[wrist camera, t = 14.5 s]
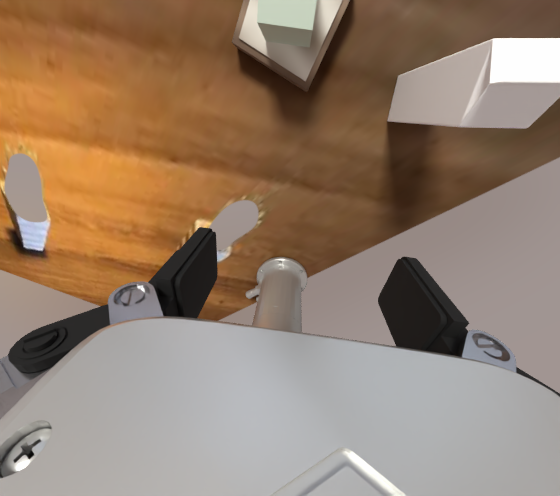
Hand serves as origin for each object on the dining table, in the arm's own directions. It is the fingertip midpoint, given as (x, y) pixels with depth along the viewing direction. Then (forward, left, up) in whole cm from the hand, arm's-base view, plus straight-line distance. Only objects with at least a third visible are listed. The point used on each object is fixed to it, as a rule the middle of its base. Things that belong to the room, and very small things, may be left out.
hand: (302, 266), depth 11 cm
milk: (+19, -2, -34) cm, 39 cm away
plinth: (+8, +16, -33) cm, 38 cm away
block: (+8, +16, -30) cm, 35 cm away
